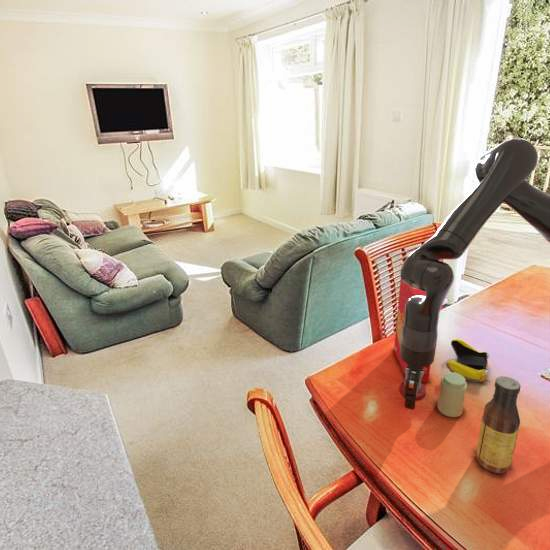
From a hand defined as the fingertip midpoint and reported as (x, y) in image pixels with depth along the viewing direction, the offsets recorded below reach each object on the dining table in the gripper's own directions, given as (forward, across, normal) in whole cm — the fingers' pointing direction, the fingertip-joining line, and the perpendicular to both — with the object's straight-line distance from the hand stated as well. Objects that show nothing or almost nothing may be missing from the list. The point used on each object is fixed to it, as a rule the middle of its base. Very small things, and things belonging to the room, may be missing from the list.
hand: (411, 398), depth 91 cm
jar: (+2, -3, +9) cm, 9 cm away
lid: (-3, 0, 0) cm, 3 cm away
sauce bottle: (+3, +10, +17) cm, 20 cm away
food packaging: (+3, -17, -2) cm, 17 cm away
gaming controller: (+3, -21, +12) cm, 24 cm away
